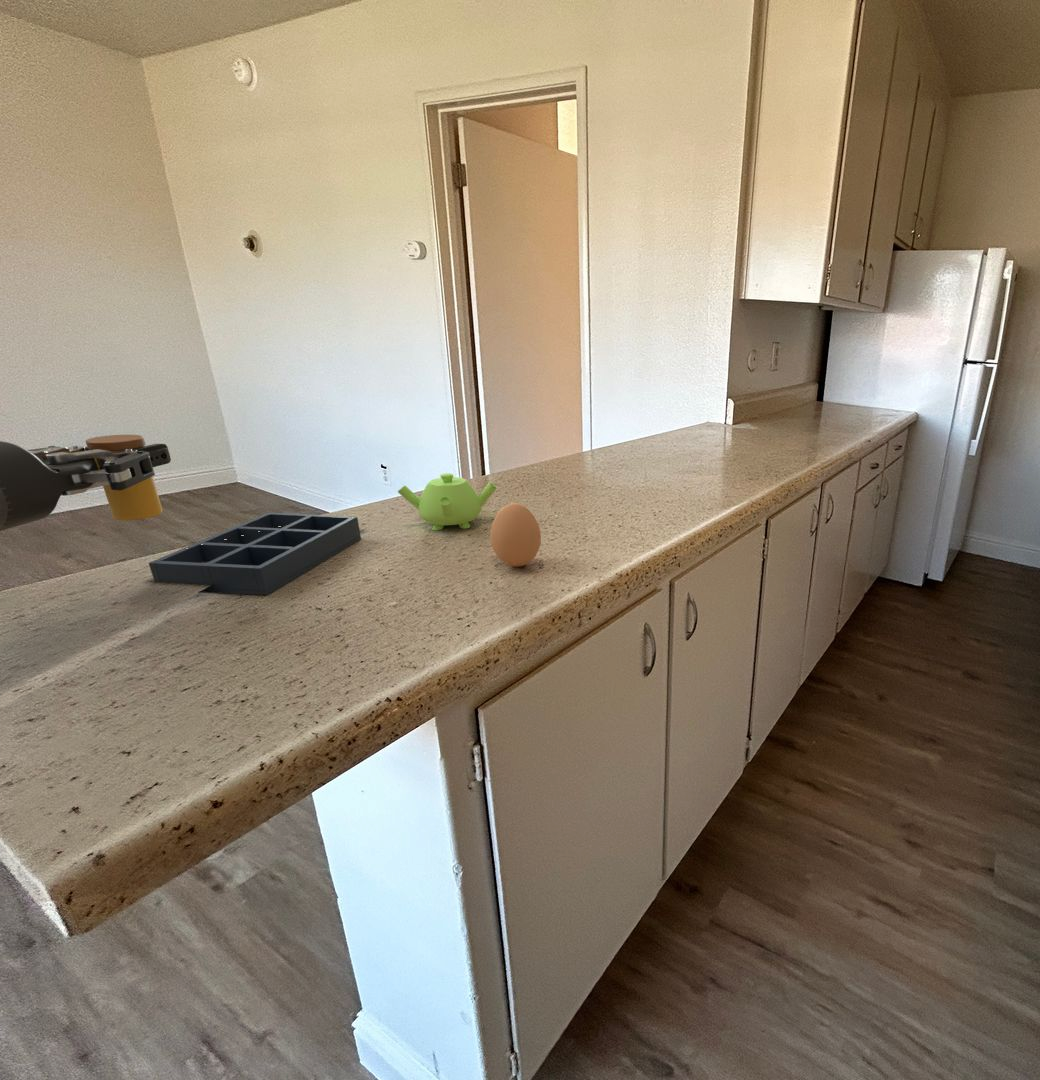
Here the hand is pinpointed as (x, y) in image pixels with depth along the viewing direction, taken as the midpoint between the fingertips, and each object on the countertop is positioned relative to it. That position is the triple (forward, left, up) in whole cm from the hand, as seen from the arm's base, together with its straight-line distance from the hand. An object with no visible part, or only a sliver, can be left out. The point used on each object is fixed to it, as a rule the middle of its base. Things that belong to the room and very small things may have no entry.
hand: (144, 451), depth 66 cm
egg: (+36, +13, -17) cm, 42 cm away
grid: (+3, +10, -17) cm, 20 cm away
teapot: (+20, +28, -17) cm, 39 cm away
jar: (0, -3, -7) cm, 7 cm away
